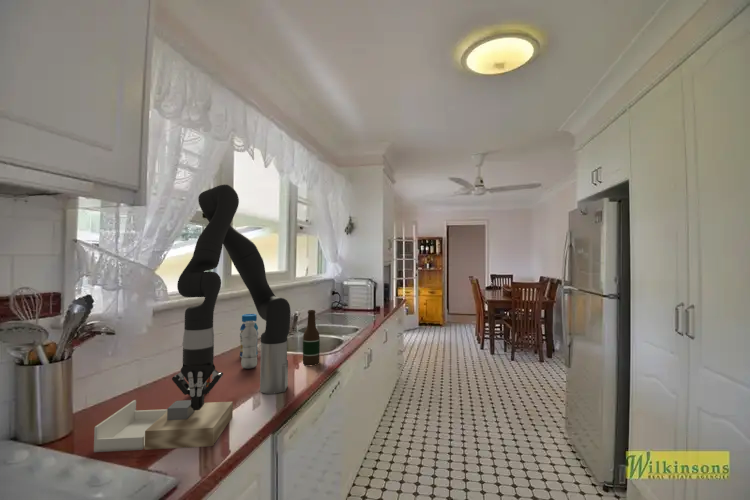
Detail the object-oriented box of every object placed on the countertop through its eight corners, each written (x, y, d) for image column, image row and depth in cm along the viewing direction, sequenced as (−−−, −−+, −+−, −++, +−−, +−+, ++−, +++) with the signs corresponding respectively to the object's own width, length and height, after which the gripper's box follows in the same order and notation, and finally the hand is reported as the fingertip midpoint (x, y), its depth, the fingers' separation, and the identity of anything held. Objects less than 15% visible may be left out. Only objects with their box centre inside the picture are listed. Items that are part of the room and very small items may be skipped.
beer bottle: (305, 360, 158) (306, 308, 159) (321, 361, 157) (322, 309, 158) (299, 365, 151) (300, 311, 151) (316, 366, 150) (317, 311, 150)
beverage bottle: (259, 356, 164) (260, 315, 165) (241, 359, 160) (242, 316, 160) (255, 352, 171) (256, 312, 172) (237, 355, 167) (238, 314, 167)
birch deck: (232, 416, 101) (232, 401, 101) (212, 446, 85) (213, 427, 85) (175, 419, 100) (175, 403, 100) (144, 449, 84) (145, 430, 84)
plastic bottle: (260, 367, 148) (261, 321, 149) (247, 371, 143) (248, 323, 143) (250, 364, 152) (251, 319, 152) (237, 368, 146) (238, 321, 147)
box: (173, 419, 99) (174, 398, 100) (142, 449, 84) (143, 424, 84) (133, 421, 98) (133, 400, 98) (93, 452, 82) (94, 426, 83)
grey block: (195, 410, 95) (195, 400, 95) (187, 419, 90) (187, 407, 90) (175, 411, 94) (176, 400, 94) (167, 420, 89) (167, 408, 90)
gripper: (228, 341, 98) (227, 402, 97) (179, 342, 96) (177, 404, 95) (219, 347, 90) (218, 414, 90) (166, 348, 89) (164, 416, 88)
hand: (197, 409), depth 93 cm, fingers closed
